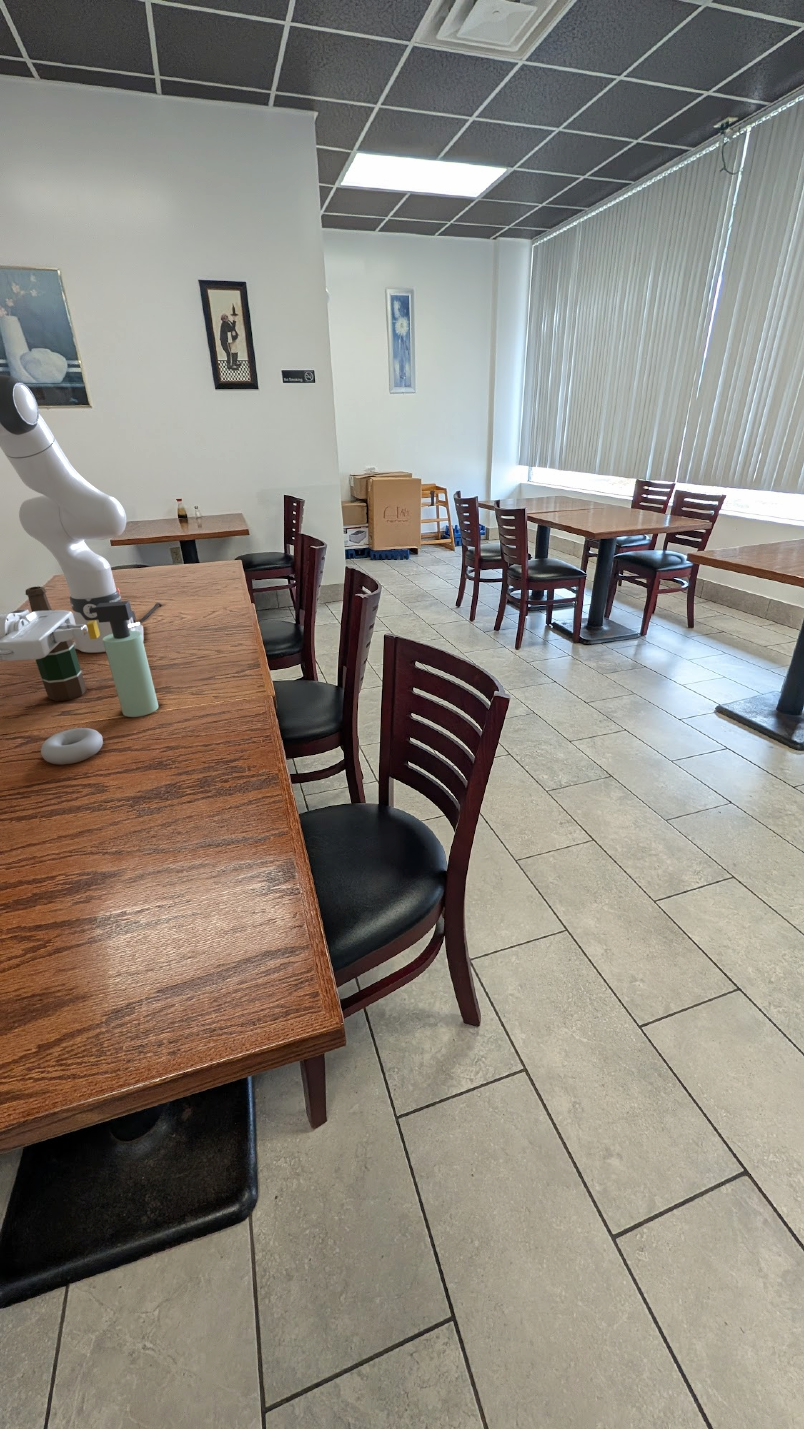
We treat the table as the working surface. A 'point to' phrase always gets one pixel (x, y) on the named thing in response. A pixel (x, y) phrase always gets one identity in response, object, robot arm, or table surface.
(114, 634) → the spray bottle
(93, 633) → the block
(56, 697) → the beer bottle
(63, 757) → the donut
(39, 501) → the robot arm
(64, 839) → the table surface
